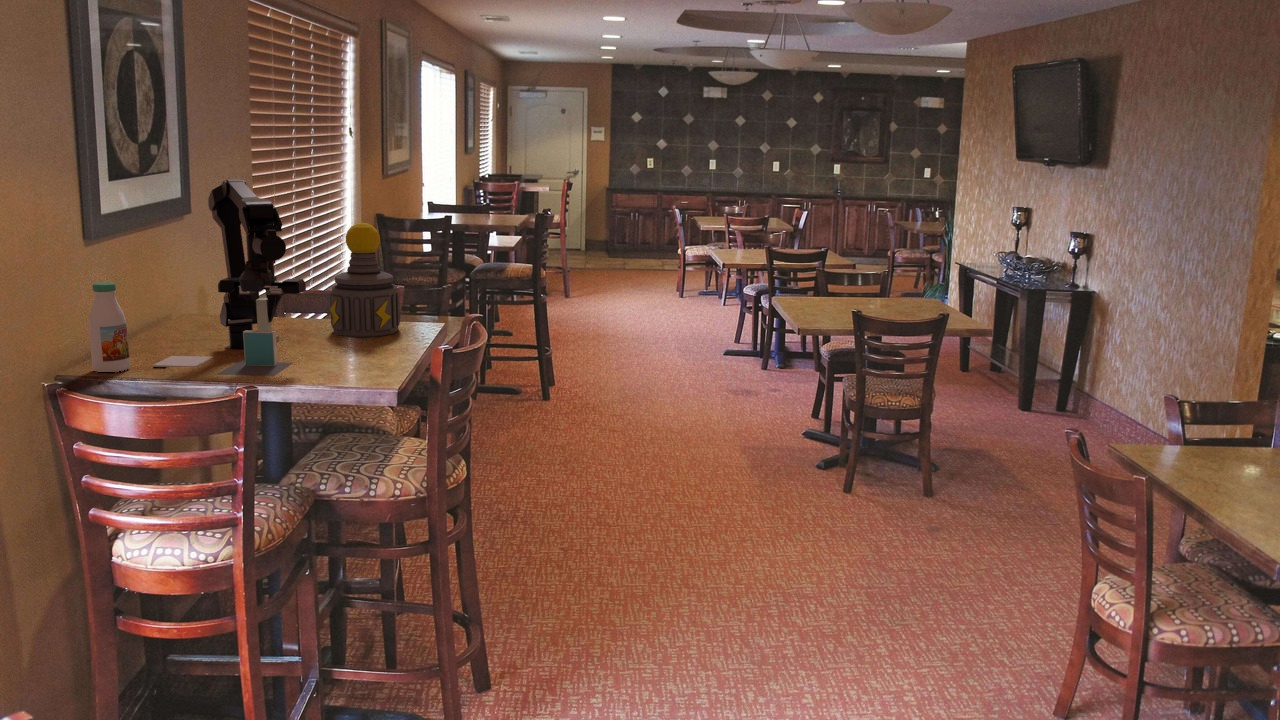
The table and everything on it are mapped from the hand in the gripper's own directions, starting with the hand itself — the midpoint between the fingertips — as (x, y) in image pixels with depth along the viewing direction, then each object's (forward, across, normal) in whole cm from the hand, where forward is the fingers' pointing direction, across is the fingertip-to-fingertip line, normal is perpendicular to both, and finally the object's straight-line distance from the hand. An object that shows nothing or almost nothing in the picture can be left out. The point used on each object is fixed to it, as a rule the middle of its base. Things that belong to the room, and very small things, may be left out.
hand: (264, 322), depth 243 cm
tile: (+10, 0, -3) cm, 10 cm away
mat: (+10, 0, -7) cm, 12 cm away
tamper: (+5, 0, 0) cm, 5 cm away
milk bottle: (+10, -32, -9) cm, 35 cm away
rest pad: (+10, -19, -1) cm, 22 cm away
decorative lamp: (+10, +13, +42) cm, 45 cm away
